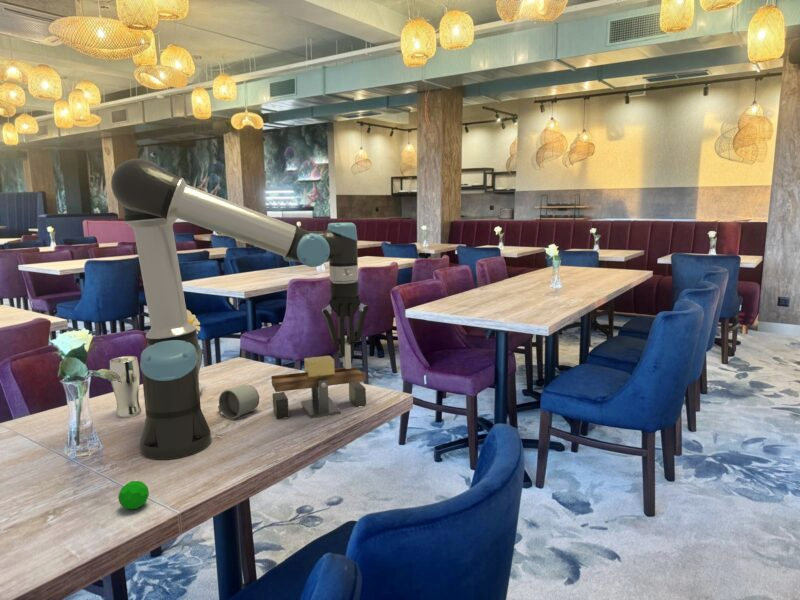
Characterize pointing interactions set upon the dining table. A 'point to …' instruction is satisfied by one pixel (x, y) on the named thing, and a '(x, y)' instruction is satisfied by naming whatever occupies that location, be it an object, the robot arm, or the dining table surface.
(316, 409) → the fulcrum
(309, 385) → the beam
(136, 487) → the polyhedron
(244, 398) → the ceramic mug
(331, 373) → the block
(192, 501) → the dining table surface
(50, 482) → the dining table surface
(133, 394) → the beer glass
